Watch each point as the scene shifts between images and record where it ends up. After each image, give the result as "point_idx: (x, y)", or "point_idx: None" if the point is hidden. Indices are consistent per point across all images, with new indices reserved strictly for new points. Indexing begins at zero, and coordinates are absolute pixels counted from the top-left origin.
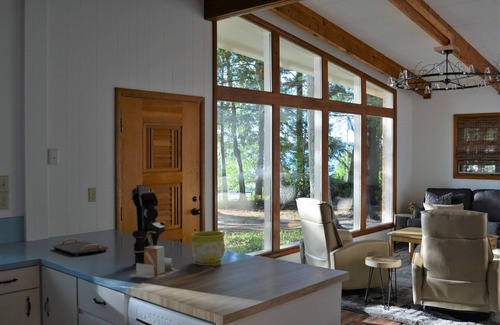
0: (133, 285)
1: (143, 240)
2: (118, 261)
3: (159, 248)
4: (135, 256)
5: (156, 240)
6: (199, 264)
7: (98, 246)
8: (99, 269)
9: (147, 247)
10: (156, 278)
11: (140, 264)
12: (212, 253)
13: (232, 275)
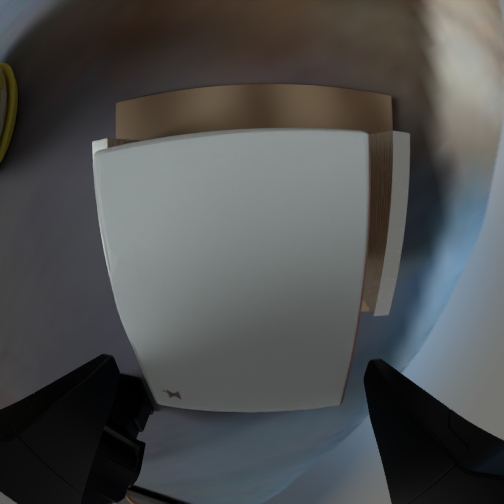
0: (481, 175)
1: (498, 445)
2: (152, 453)
3: (270, 128)
4: (137, 432)
5: (57, 404)
6: (11, 119)
7: (128, 497)
8: (269, 456)
9: (320, 377)
10: (377, 103)
11: (396, 270)
12: None
13: None
